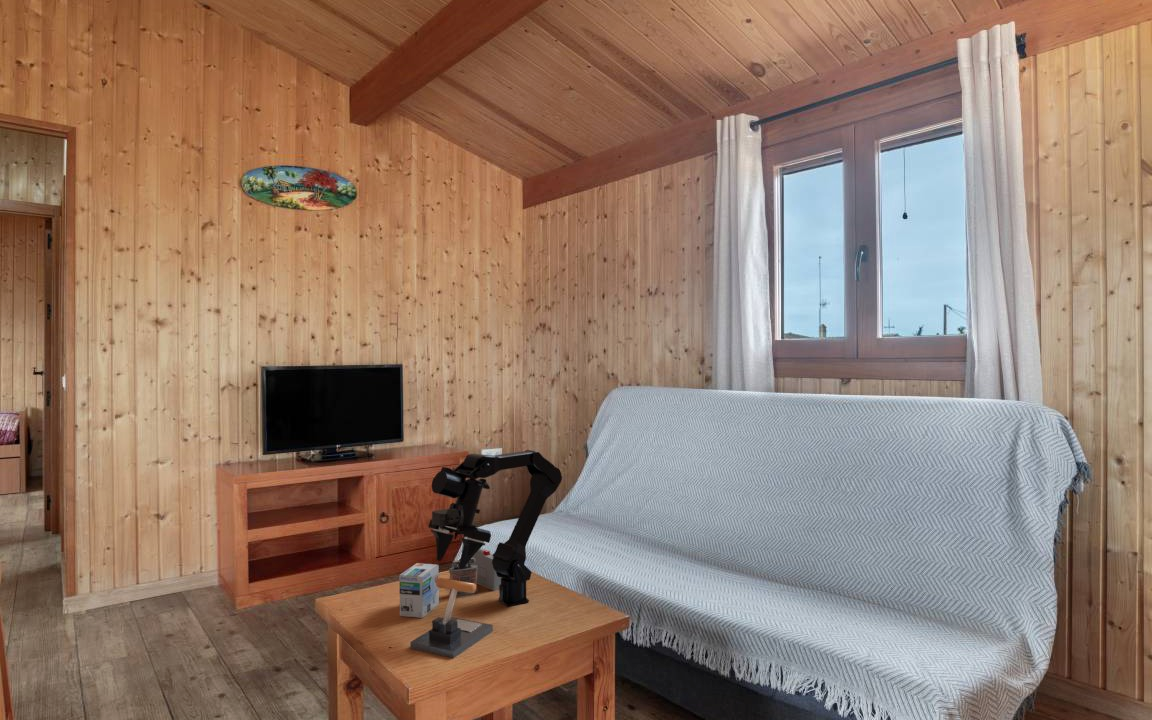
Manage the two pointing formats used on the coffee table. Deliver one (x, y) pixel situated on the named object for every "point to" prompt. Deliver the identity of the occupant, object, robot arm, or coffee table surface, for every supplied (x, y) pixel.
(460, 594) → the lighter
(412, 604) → the light bulb box
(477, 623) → the switch panel
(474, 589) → the lever
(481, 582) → the cassette player
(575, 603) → the coffee table surface
